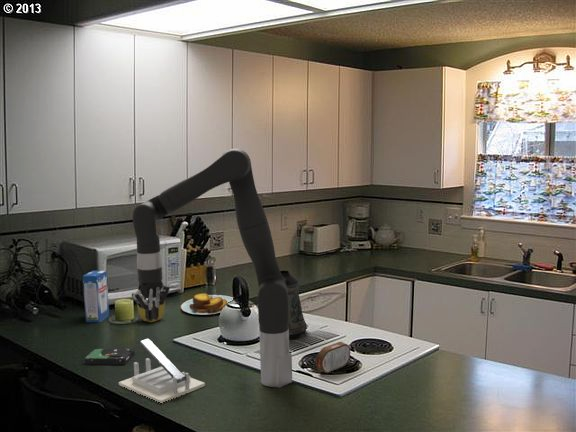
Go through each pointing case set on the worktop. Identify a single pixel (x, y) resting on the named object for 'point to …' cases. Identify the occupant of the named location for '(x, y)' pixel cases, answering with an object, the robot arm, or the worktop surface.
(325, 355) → the tin
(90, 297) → the milk carton
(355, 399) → the worktop surface
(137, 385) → the slatted block on board
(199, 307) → the food on plate
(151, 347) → the strap
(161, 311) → the flower pot
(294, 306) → the beer stein
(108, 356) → the disk drive
